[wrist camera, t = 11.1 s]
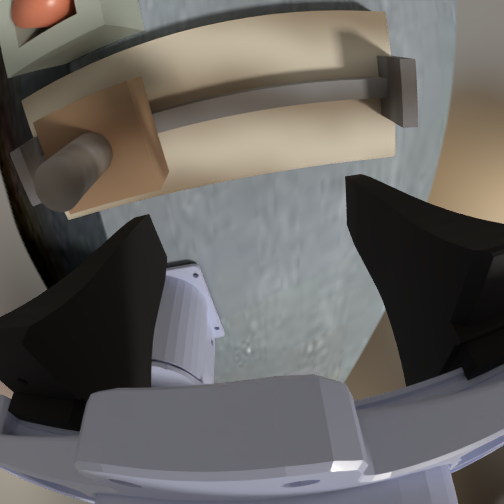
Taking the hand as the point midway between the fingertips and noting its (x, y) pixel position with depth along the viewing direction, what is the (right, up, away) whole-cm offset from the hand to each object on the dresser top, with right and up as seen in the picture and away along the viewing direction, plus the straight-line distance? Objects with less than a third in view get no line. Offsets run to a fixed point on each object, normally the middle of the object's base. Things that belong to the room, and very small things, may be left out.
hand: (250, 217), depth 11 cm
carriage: (-8, +5, +5) cm, 11 cm away
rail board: (-3, +8, +7) cm, 11 cm away
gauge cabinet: (-10, +14, +2) cm, 17 cm away
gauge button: (-10, +12, -1) cm, 15 cm away
